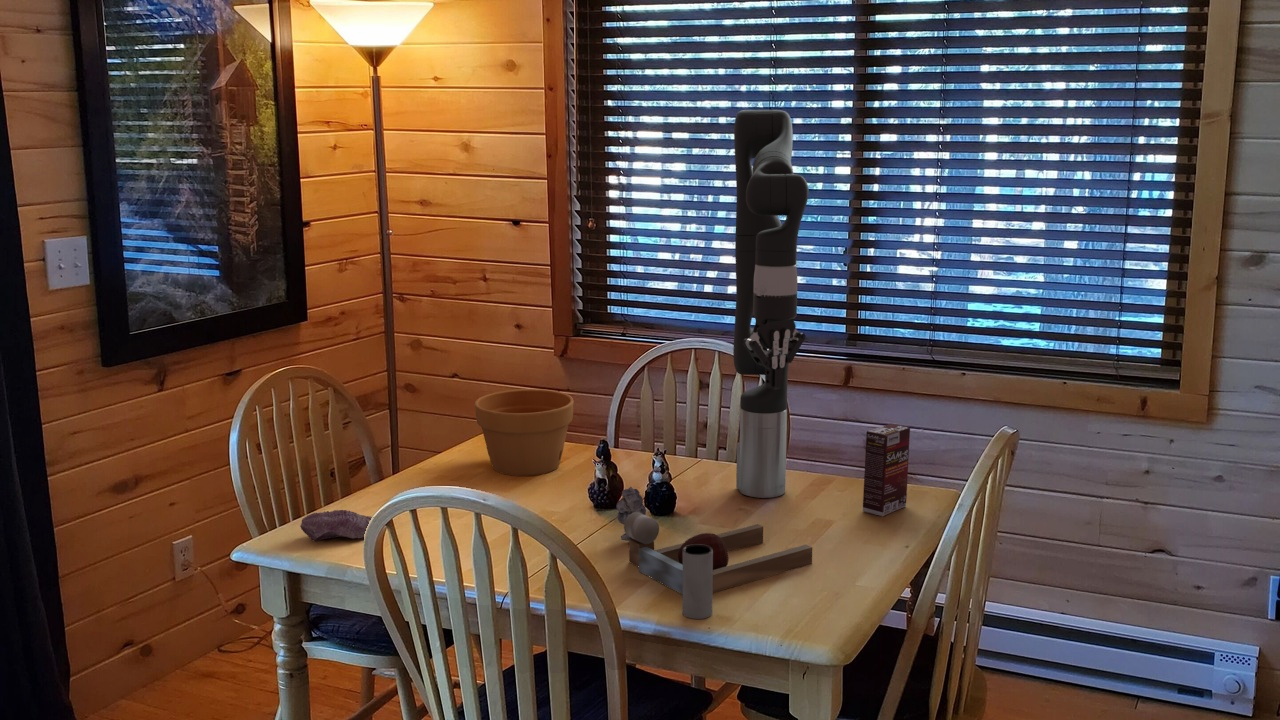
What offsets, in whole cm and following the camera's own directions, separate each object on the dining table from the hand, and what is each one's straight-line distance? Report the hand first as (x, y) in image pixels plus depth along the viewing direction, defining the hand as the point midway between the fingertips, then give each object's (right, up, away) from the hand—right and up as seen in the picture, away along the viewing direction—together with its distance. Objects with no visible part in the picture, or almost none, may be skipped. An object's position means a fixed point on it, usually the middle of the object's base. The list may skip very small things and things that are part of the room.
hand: (773, 388), depth 209 cm
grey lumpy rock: (-25, -27, +3) cm, 37 cm away
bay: (-10, -29, -8) cm, 32 cm away
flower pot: (-48, -18, +48) cm, 70 cm away
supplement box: (+23, -24, +19) cm, 38 cm away
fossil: (-77, -27, +5) cm, 82 cm away
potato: (-13, -31, -13) cm, 36 cm away
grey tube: (-15, -34, -29) cm, 47 cm away
